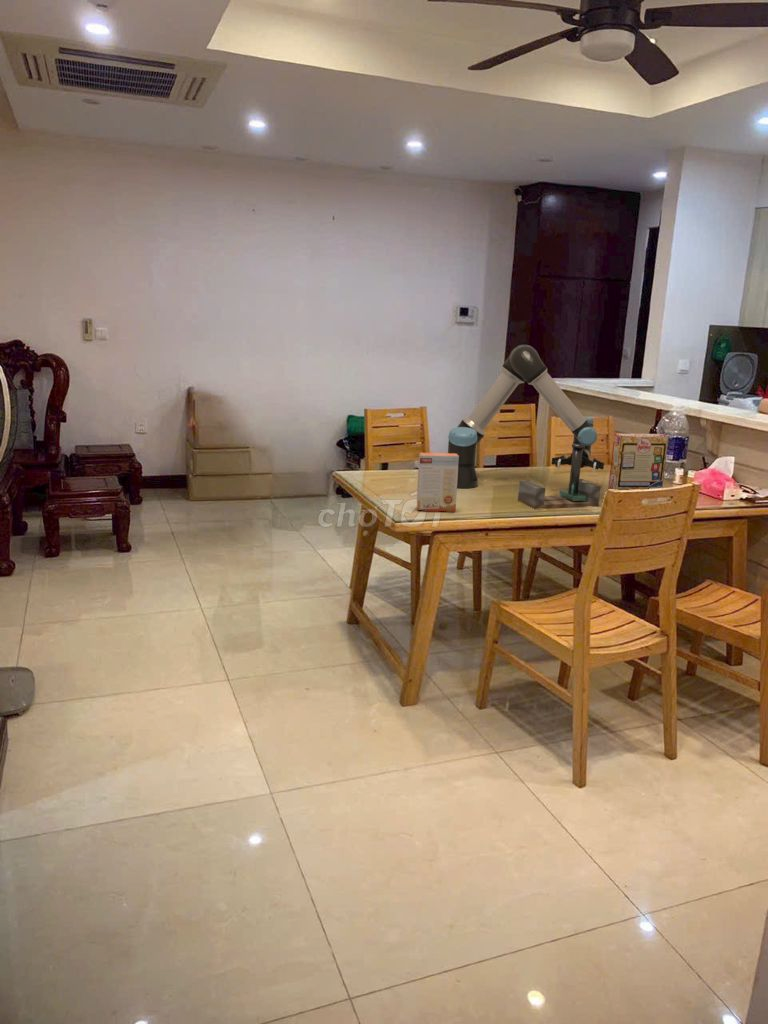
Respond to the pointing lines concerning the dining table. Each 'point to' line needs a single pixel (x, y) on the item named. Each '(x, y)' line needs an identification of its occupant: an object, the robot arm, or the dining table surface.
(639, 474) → the board game box
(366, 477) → the dining table surface
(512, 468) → the dining table surface
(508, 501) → the dining table surface
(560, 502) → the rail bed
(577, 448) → the green pole stand
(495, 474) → the dining table surface
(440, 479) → the cracker box
